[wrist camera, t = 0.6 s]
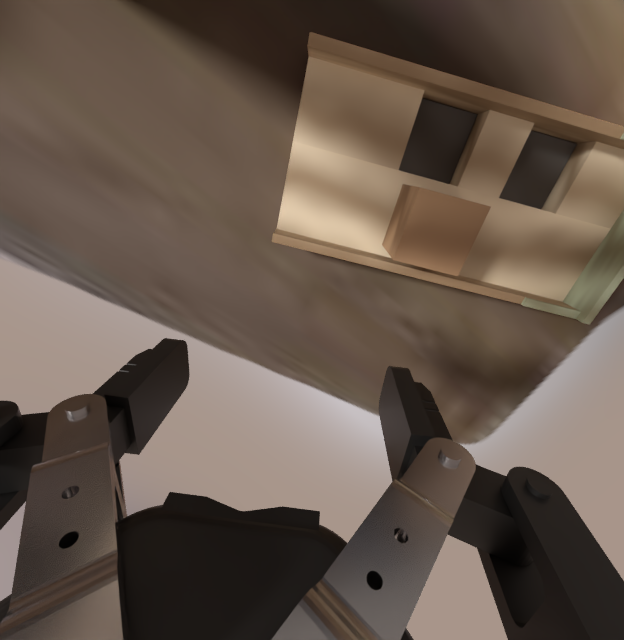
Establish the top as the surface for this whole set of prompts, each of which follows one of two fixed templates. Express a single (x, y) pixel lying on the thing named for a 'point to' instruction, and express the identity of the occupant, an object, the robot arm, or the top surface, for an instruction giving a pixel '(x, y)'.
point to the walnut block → (433, 229)
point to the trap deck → (456, 177)
